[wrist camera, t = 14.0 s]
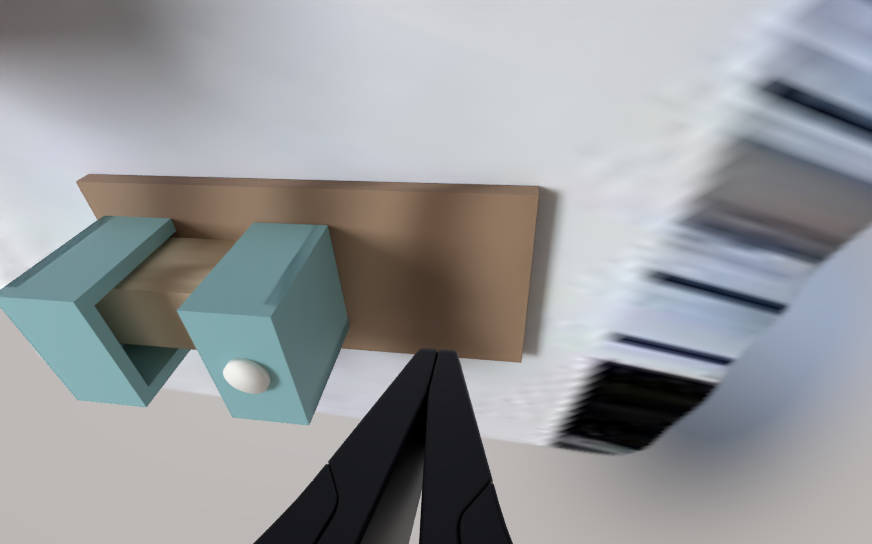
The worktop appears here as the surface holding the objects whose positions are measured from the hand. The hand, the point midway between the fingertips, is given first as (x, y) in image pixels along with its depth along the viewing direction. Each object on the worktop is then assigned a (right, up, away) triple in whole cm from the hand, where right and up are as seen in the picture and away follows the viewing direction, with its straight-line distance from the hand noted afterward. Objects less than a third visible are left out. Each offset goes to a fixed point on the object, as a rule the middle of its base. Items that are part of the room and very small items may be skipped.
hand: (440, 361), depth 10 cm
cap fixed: (-14, +2, +14) cm, 20 cm away
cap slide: (-7, +2, +13) cm, 14 cm away
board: (-6, +2, +13) cm, 15 cm away
